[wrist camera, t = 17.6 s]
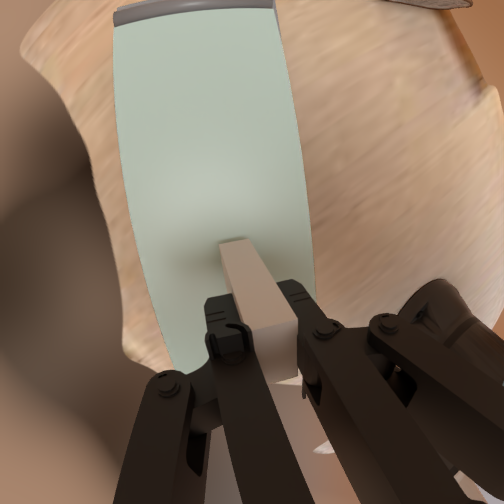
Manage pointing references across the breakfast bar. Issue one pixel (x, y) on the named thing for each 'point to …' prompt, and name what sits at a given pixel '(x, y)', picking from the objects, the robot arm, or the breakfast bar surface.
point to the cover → (207, 154)
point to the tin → (437, 3)
